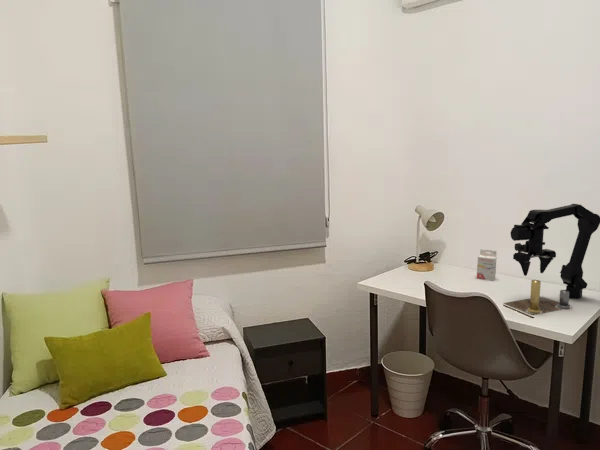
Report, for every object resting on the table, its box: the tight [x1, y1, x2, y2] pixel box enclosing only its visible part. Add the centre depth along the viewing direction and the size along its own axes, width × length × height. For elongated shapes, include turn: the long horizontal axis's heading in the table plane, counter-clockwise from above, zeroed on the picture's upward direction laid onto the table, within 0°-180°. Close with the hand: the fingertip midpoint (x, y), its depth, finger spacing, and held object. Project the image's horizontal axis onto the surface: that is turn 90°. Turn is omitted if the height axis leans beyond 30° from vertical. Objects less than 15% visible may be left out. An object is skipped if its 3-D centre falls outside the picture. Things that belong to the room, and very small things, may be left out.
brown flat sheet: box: [502, 296, 573, 319], centre depth 208 cm, size 22×17×1 cm
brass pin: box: [528, 279, 542, 315], centre depth 200 cm, size 5×5×13 cm
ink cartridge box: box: [476, 249, 497, 281], centre depth 251 cm, size 9×5×15 cm, turn 58°
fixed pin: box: [556, 289, 571, 310], centre depth 204 cm, size 5×5×7 cm
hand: (533, 274), depth 212 cm, fingers open, 9 cm apart
